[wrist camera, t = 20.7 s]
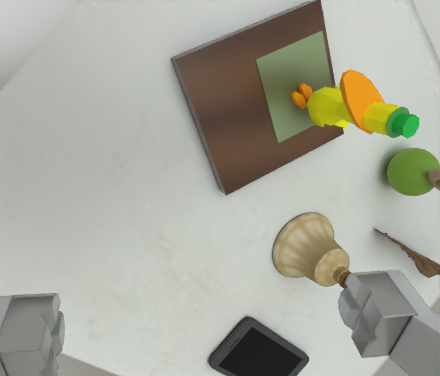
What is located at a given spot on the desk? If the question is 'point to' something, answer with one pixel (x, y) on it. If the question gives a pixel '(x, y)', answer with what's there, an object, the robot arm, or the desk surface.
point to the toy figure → (356, 107)
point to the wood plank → (420, 260)
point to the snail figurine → (413, 172)
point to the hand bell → (311, 251)
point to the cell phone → (257, 353)
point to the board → (258, 94)
